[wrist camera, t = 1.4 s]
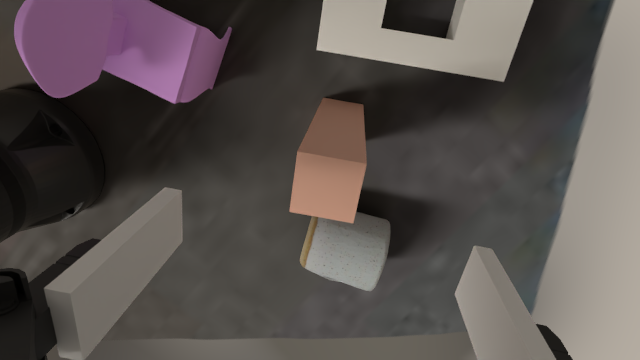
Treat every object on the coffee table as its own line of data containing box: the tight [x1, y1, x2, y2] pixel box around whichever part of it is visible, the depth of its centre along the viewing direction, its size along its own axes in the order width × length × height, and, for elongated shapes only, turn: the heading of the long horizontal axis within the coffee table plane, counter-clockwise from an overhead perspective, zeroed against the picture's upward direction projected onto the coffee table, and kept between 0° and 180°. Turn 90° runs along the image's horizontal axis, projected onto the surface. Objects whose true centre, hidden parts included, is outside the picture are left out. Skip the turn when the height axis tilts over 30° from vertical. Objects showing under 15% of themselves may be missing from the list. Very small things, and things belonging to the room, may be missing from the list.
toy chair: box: [14, 0, 232, 104], centre depth 27 cm, size 8×9×15 cm
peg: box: [289, 98, 367, 223], centre depth 28 cm, size 4×4×16 cm
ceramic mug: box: [300, 212, 391, 291], centre depth 38 cm, size 11×8×8 cm
